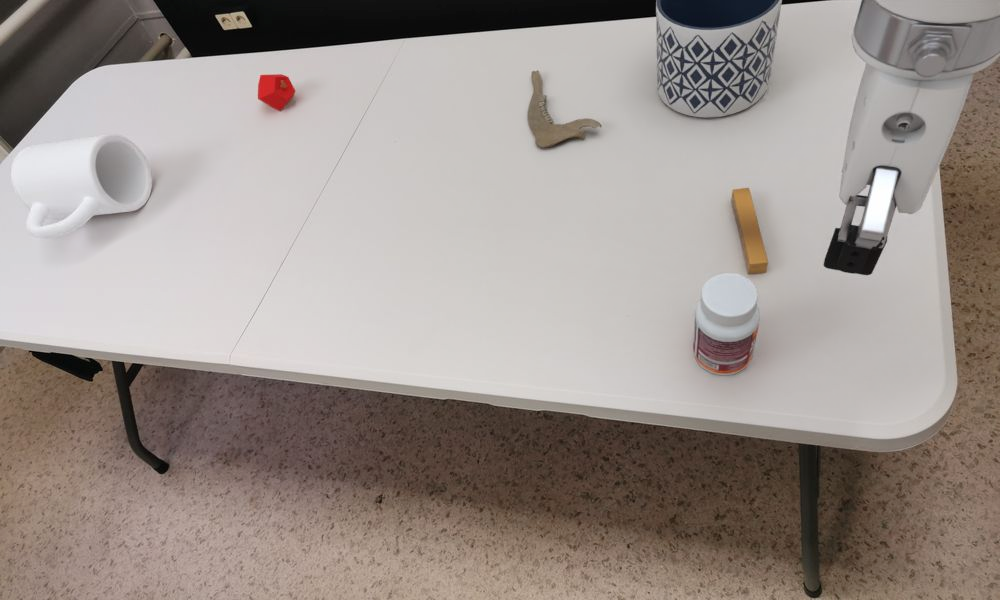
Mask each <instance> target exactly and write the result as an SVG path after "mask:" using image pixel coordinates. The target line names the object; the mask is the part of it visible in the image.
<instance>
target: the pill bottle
mask: <svg viewBox="0 0 1000 600" xmlns="http://www.w3.org/2000/svg"><path fill="white" fill-rule="evenodd" d="M700 294H701V295H700V298H699V299H698V302H697V304H696V306H695V310H694V323H693V338H692V339H693V340H692V341H693V342H692V344H693V345H692V351H693V356H694V359H695V360H696V362H697V363H698V364H699V367H701V368H703V369H704V370H705V371H706V372H708V373H711V374H714V375H719V376H731V375H735V374H737V373H739V372H742V371H743V370H744V369H746V367H747V366H749V364H750V362H751V360H752V356H753V353H754V348H755V346H756V340H757V336H758V331H759V326H760V320H761V311H760V307H759V304H758V299H759V293H758V290H757V287H756V286H755V284H754V283H753V282H752V281H751V280H750V279H749V278H748V277H746V276H744V275H741V274H739V273H734V272H733V273H732V272H725V273H718V274H716V275H714V276H711V277H710V278H709V279H708V280H706V281H705V283H704V284H703V286H702V289H701V293H700Z"/></svg>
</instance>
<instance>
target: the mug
mask: <svg viewBox="0 0 1000 600" xmlns="http://www.w3.org/2000/svg"><path fill="white" fill-rule="evenodd" d="M10 169H11V170H10V179H11V184H12V187H13V190H14V192H15V194H16V196H17V198H18V199H19V201H20V202H21V203H22V205H23V206H25V208H26V209H28V210H29V212H28V214H27V217H26V221H25V227H26V230H27V232H28V233H29V235H31V236H32V237H34V238H37V239H42V240H43V239H44V240H45V239H47V240H48V239H49V240H50V239H55V238H59V237H62V236H65V235H68V234H70V233H72V232H74V231H76V230H77V229H79V228H80V227H83V225H84V224H85V223H87V222H88V221H90V220H91V218H92V217H94V216H101V215H111V214H121V213H127V212H128V213H129V212H135V211H137V210H139V209H141V208H142V207H143V206H144V205H146V203H147V202H148V200H149V198H150V196H151V193H152V189H153V188H152V187H153V176H152V170H151V167H150V165H149V162H148V160H147V158H146V156H145V155H144V153H143V152H142V150H141V149H140V148H139V146H138V145H136V144H135V142H133V141H132V140H130V139H129V138H127V137H125V136H123V135H120V134H116V133H107V134H99V135H93V136H87V137H86V136H85V137H79V138H73V139H66V140H65V139H64V140H58V141H51V142H44V143H38V144H37V143H36V144H32V145H28V146H26V147H23V148H22V149H21V150H20V151H19V152H18V153H17V154H16V155H15V157H14V159H13V161H12V164H11V168H10ZM46 219H48V220H60V221H57V222H55V223H51V224H47V225H43V224H44V223H45V220H46Z"/></svg>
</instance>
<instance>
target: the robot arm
mask: <svg viewBox="0 0 1000 600" xmlns="http://www.w3.org/2000/svg"><path fill="white" fill-rule="evenodd" d="M851 46H852V49H853V50H854V52H855V54H856V55H857V56H858V57H859V59H861V61H863V62H864V63H865V65H864V69H863V72H862V76H861V79H860V83H859V86H858V89H857V94H856V98H855V102H854V105H853V109H852V114H851V118H850V122H849V127H848V133H847V139H846V145H845V151H844V158H843V163H842V168H841V178H840V186H839V193H838V198H839V199H840V201H841V202H842V203H843V204H844V205H845V209H844V213H843V217H842V221H841V223H840V227H834V231H833V234H832V237H831V240H830V243H829V245H828V248H827V251H826V254H825V256H824V260H823V268H825V269H829V270H833V271H839V272H842V273H847V274H854V275H855V274H856V275H862V276H871V275H872V274H873V273H874V270H875V268H876V266H877V264H878V262H879V259H880V257H881V255H882V253H883V251H884V249H885V247H886V245H887V243H888V237H889V236H888V235H889V233H890V232H889V231H890V228H891V225H892V221H893V218H894V215H895V212H896V209H897V211H898V213H899V214H907V215H913V214H916V213H917V212H918V211H920V210H921V209H922V207H923V206H924V202H925V200H926V198H927V196H928V193H929V191H930V190H931V189H930V188H931V186H932V184H933V182H934V179H935V177H936V175H937V172H938V170H939V167H940V165H941V163H942V161H943V158H944V156H945V154H946V151H947V149H948V147H949V144H950V142H951V140H952V137H953V134H954V132H955V130H956V127H957V124H958V122H959V120H960V118H961V115H962V112H963V108H964V106H965V103H966V100H967V98H968V94H969V91H970V89H971V85H972V82H973V78H974V75H975V73H977V72H980V71H982V70H984V69H986V68H987V67H990V66H991V65H992V64H993V63H994V62H996V61H997V59H999V57H1000V0H861V1H860V5H859V9H858V11H857V16H856V20H855V23H854V26H853V29H852V34H851ZM867 186H869V188H868V193H867V195H861V194H860V193H862V191H864V190H865V189H866V188H867ZM857 207H863V208H864V209H863V212H862V217H861V220H860V222H859V225H855V224H852V223H853V221H854V217H855V213H856V211H857Z"/></svg>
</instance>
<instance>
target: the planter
mask: <svg viewBox="0 0 1000 600" xmlns="http://www.w3.org/2000/svg"><path fill="white" fill-rule="evenodd" d="M655 1H656V2H655V15H656V16H655V21H656V22H655V25H656V27H655V30H656V32H655V33H656V81H657V83H656V84H657V92H658V95H659V97H660V99H661V100H662V102H663V103H664V104H665V105H666V106H667V107H669V108H670V109H672V110H673V111H676V112H678V113H679V114H683V115H686V116H690V117H696V118H718V117H719V118H720V117H725V116H730V115H734V114H736V113H739V112H742V111H744V110H746V109H748V108H750V107H751V106H753V105H754V104H756V103H757V102H758V101H759V100H760V99H761V98H762V97H763V96H764V95H765V93H766V91H767V90H768V88H769V84H770V80H771V74H772V68H773V67H772V66H773V61H774V54H775V49H776V42H777V36H778V35H777V34H778V29H779V24H780V23H779V22H780V17H781V16H780V15H781V10H782V2H783V0H655Z"/></svg>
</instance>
